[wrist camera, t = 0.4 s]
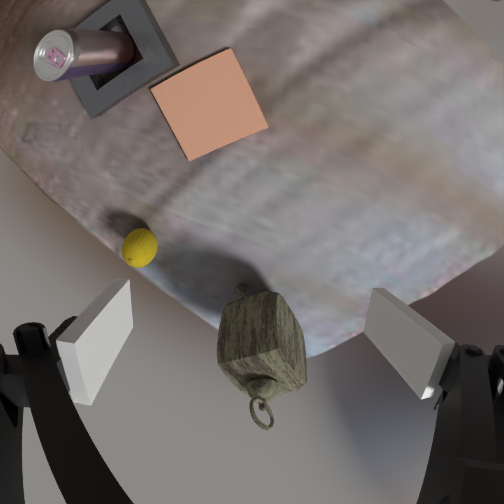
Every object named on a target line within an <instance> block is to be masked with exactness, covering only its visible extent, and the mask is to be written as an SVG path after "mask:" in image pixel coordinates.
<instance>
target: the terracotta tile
mask: <svg viewBox="0 0 504 504" xmlns="http://www.w3.org/2000/svg"><path fill="white" fill-rule="evenodd" d="M151 91H152V93H153V95H154V97H155V99H156V101H157V102H158V104H159V106H160V108H161V110H162V112H163V114H164V116H165V117H166V119H167V121H168V123H169V125H170V127H171V129H172V130H173V132H174V134H175V136H176V138H177V140H178V142H179V143H180V145H181V147H182V149H183V151H184V153H185V154H186V156H187V158H188V160H189V161H191V160H193V159H196V158H198V157H200V156H202V155H204V154H206V153H209V152H211V151H213V150H215V149H218V148H220V147H222V146H224V145H227V144H229V143H231V142H234V141H236V140H238V139H241V138H243V137H246V136H248V135H251V134H253V133H256V132H258V131H261V130H263V129H266V128H268V127H269V126H268V124H267V122H266V119H265V117H264V115H263V113H262V111H261V109H260V106H259V104H258V102H257V100H256V98H255V96H254V93H253V91H252V89H251V87H250V85H249V83H248V81H247V79H246V77H245V75H244V73H243V71H242V69H241V67H240V65H239V63H238V61H237V59H236V57H235V55H234V53H233V51H232V49H231V48H230V49H227V50H225V51H223V52H221V53H218V54H216V55H214V56H212V57H210V58H208V59H206V60H204V61H202V62H199V63H197V64H195V65H193V66H191V67H190V68H188V69H186V70H184V71H182V72H180V73H178V74H176V75H174V76H173V77H171V78H169V79H167V80H165V81H164V82H162V83H160V84H158V85H157V86H155V87H153V88H152V89H151Z"/></svg>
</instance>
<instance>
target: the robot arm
mask: <svg viewBox="0 0 504 504" xmlns="http://www.w3.org/2000/svg"><path fill="white" fill-rule="evenodd" d="M132 328H133V321H132V309H131V296H130V281H129V279H115V280H114V281H113V282H112V283H111V284H110V285H109V286H108V287H107V288H106V289H105V290H104V291H103V292H102V293H101V294H100V295H99V296H98V297H97V298H96V299H95V300H94V301H93V302H92V303H91V304H90V305H89V306H88V307H87V308H86V309H85V310H84V311H83V312H82V313H81V314H80V315H79V316H78V317H76V316H73V317H71V318H69V319H67V320H65V321H64V322H63V323H62V324H61V325H60V326H59V327H58V328H57V329H56V330H55V332H53V333H52V334H51V335H50V336H49V337H48V335H47V331H46V327H45V326H44V325H43V324H41V323H36V322H32V323H25V324H22V325H20V326H18V327H17V328H16V329H15V330H14V332H13V335H14V339H15V343H16V346H17V350H18V353H19V355H6V354H5V351H4V349H3V346H2V345H1V344H0V504H25V500H24V490H23V475H22V425H23V409H24V407H30V408H31V412H32V416H33V419H34V422H35V426H36V429H37V432H38V436H39V439H40V441H41V444H42V447H43V450H44V452H45V455H46V458H47V461H48V463H49V466H50V468H51V471H52V473H53V475H54V478H55V480H56V482H57V484H58V487H59V489H60V491H61V493H62V495H63V497H64V499H65V501H66V503H67V504H134V503H133V502H132V501H131V500H130V498H129V497H128V496H127V494H126V493H125V492H124V490H123V489H122V487H121V486H120V485H119V483H118V482H117V480H116V479H115V477H114V476H113V474H112V473H111V471H110V469H109V468H108V466H107V465H106V463H105V462H104V460H103V458H102V457H101V455H100V453H99V452H98V450H97V448H96V447H95V445H94V443H93V441H92V439H91V438H90V436H89V434H88V432H87V430H86V428H85V426H84V424H83V422H82V420H81V418H80V417H79V414H78V412H77V410H76V408H75V406H74V404H73V402H76V403H80V404H85V405H89V406H91V405H92V403H93V401H94V399H95V397H96V395H97V393H98V391H99V389H100V387H101V385H102V383H103V381H104V379H105V377H106V375H107V374H108V372H109V370H110V368H111V366H112V364H113V362H114V360H115V359H116V357H117V355H118V353H119V351H120V350H121V348H122V346H123V344H124V342H125V340H126V339H127V337H128V335H129V333H130V332H131V330H132ZM363 332H364V333H365V334H366V335H367V337H368V338H369V339H370V340H371V341H372V342H373V343H374V345H375V346H376V347H377V348H378V349H379V350H380V352H381V353H382V354H383V355H384V356H385V357H386V359H387V360H388V361H389V362H390V363H391V364H392V366H393V367H394V368H395V369H396V370H397V371H398V373H400V375H401V376H402V377H403V378H404V380H405V381H406V382H407V383H408V384H409V386H410V387H411V388H412V389H413V390H414V392H415V393H416V394H417V395H418V396H419V398H420V399H424V398H428V397H431V396H434V394H435V392H436V390H437V387H438V385H440V386H441V387H442V388H443V391H442V393H441V395H440V397H439V399H438V401H437V403H436V405H435V407H434V410H436V408H437V407H438V413H437V420H436V427H435V432H434V437H433V443H432V447H431V452H430V457H429V461H428V465H427V469H426V473H425V477H424V481H423V484H422V488H421V491H420V494H419V498H418V501H417V504H504V345H497V346H495V348H494V350H493V353H492V355H485V354H484V352H483V351H482V350H481V349H480V348H478V347H476V346H474V345H468V344H466V345H462V346H460V345H458V344H457V343H456V342H455V341H453V340H452V339H450V338H449V337H448V336H447V335H446V334H444V333H443V332H442V331H440V330H439V329H438V328H437V327H435V326H434V325H433V324H431V323H430V322H428V321H427V320H426V319H424V318H423V317H422V316H420V315H419V314H418V313H417V312H415V311H414V310H413V309H411V308H410V307H409V306H407V305H406V304H405V303H403V302H402V301H401V300H399V299H398V298H397V297H395V296H394V295H392V294H391V293H390V292H388V291H387V290H386V289H384V288H373V289H372V294H371V299H370V304H369V309H368V313H367V318H366V322H365V327H364V331H363ZM502 385H503V390H502V392H501V394H500V393H499V391H500V389H501V387H502ZM69 391H70V393H71V396H72V399H73V402H72V400H71V398H70V395H69V393H68V392H69Z"/></svg>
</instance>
